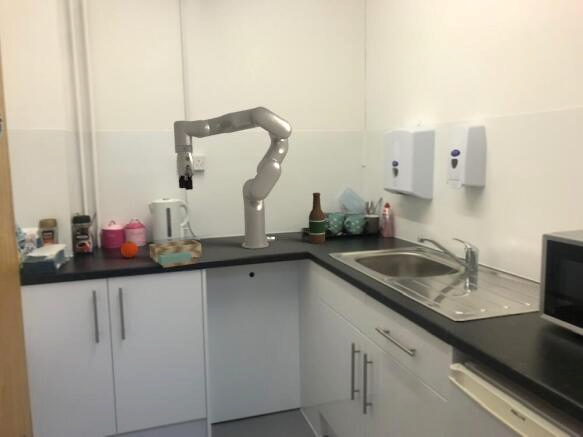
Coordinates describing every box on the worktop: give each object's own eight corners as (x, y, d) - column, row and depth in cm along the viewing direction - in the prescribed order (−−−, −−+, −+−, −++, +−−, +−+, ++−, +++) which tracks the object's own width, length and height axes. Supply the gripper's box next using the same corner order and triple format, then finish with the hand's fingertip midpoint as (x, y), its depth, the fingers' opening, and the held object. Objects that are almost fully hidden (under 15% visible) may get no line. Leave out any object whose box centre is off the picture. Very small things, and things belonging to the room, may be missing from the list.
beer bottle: (309, 240, 230) (309, 192, 226) (325, 240, 229) (325, 191, 225) (308, 243, 222) (307, 193, 219) (324, 243, 221) (324, 193, 218)
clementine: (124, 255, 204) (123, 239, 203) (140, 254, 205) (139, 239, 204) (119, 259, 196) (118, 243, 195) (136, 259, 197) (135, 242, 196)
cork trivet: (191, 258, 196) (191, 256, 196) (198, 262, 188) (198, 261, 188) (158, 262, 190) (158, 261, 189) (163, 267, 182) (163, 265, 182)
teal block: (187, 258, 193) (187, 251, 192) (191, 260, 189) (190, 253, 188) (158, 262, 186) (157, 255, 186) (161, 265, 183) (161, 257, 182)
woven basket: (193, 251, 210) (193, 239, 209) (201, 256, 200) (201, 243, 199) (150, 256, 200) (149, 244, 200) (156, 262, 190) (155, 249, 190)
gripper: (198, 149, 197) (200, 189, 200) (186, 149, 212) (188, 187, 215) (180, 149, 194) (182, 190, 196) (170, 149, 209) (172, 188, 211)
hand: (185, 188), depth 206 cm, fingers open, 9 cm apart
